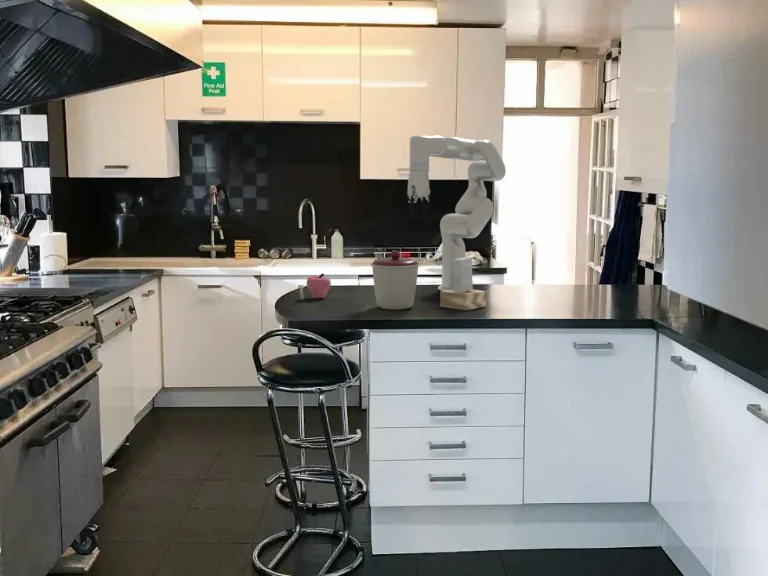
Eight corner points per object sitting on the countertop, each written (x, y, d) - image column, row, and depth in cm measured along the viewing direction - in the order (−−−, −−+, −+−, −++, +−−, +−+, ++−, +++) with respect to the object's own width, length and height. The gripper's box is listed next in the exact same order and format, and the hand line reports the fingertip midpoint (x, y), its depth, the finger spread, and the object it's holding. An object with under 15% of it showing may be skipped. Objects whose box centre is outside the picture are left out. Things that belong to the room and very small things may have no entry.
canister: (430, 308, 299) (430, 250, 295) (394, 314, 286) (394, 254, 283) (395, 301, 312) (396, 246, 308) (360, 307, 299) (360, 250, 296)
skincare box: (464, 288, 305) (463, 257, 303) (473, 290, 302) (472, 257, 300) (453, 291, 301) (452, 259, 299) (462, 292, 298) (461, 260, 296)
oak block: (460, 303, 311) (461, 287, 310) (485, 307, 303) (486, 291, 302) (440, 307, 302) (440, 291, 302) (465, 311, 294) (465, 294, 293)
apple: (328, 295, 325) (327, 270, 324) (333, 299, 317) (333, 273, 315) (304, 297, 322) (304, 271, 321) (309, 300, 314) (309, 274, 312)
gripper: (420, 167, 326) (420, 210, 328) (400, 168, 311) (400, 213, 314) (437, 168, 322) (437, 211, 325) (417, 168, 307) (417, 214, 310)
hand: (419, 212), depth 319 cm, fingers open, 9 cm apart
